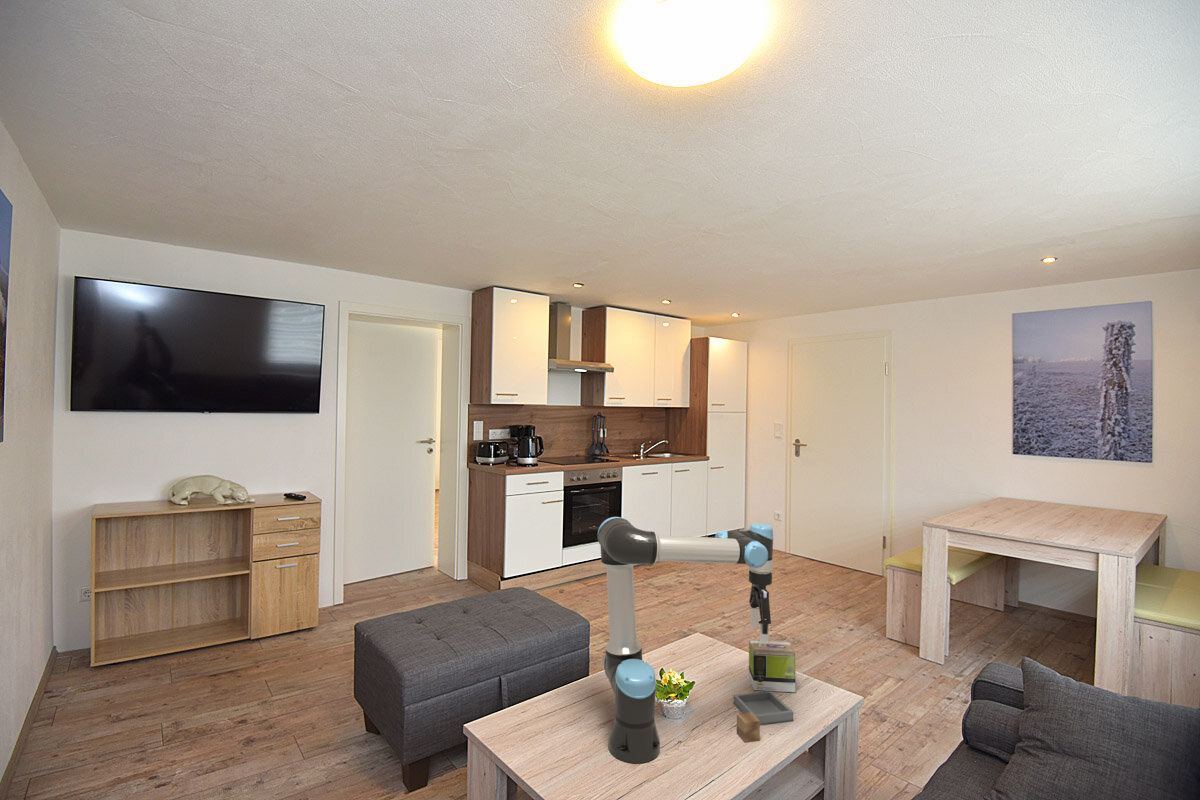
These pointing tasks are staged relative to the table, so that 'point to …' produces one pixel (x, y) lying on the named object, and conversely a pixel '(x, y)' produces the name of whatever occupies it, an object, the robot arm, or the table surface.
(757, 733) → the walnut block
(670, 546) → the robot arm
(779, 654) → the tea box
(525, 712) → the table surface
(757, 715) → the tray
